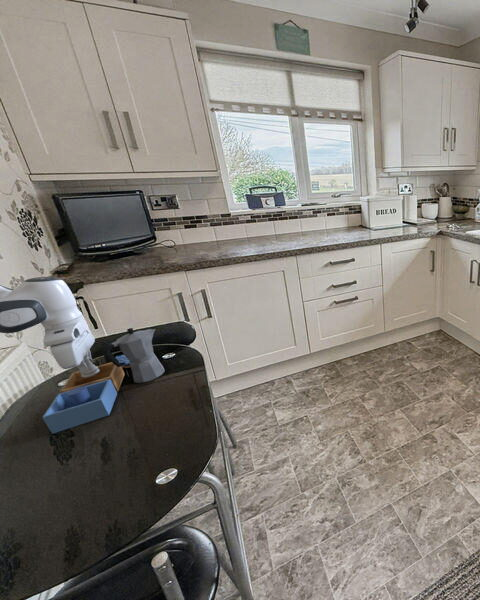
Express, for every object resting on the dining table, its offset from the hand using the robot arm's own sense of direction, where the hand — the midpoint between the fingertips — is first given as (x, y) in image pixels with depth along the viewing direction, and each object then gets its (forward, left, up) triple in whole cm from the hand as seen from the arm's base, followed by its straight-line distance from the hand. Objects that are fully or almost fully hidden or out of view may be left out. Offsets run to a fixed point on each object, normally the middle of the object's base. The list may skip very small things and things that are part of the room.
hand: (87, 367), depth 103 cm
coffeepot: (+13, -2, -9) cm, 16 cm away
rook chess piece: (0, 0, -3) cm, 3 cm away
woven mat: (+6, +15, -9) cm, 19 cm away
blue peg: (0, -13, -8) cm, 16 cm away
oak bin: (0, 0, -8) cm, 8 cm away
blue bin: (0, -14, -8) cm, 16 cm away
